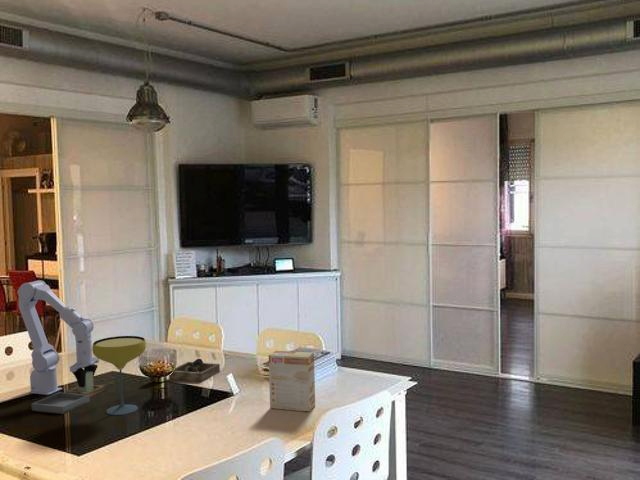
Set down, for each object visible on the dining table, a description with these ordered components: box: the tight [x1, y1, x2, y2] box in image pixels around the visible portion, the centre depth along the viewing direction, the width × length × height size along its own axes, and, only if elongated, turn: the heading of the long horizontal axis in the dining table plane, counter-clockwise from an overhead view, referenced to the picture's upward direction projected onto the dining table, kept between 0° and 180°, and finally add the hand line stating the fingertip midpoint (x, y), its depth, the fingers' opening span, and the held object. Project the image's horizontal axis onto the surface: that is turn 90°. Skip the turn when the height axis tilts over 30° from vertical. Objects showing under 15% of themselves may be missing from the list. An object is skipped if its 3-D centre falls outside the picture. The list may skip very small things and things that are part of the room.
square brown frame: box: [65, 384, 107, 398], centre depth 248 cm, size 10×10×2 cm
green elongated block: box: [77, 371, 94, 393], centre depth 248 cm, size 4×4×8 cm
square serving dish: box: [168, 361, 221, 383], centre depth 268 cm, size 15×15×4 cm
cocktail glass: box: [92, 335, 147, 416], centre depth 225 cm, size 18×18×25 cm
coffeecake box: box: [268, 350, 316, 413], centre depth 225 cm, size 15×7×20 cm, turn 71°
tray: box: [30, 391, 91, 415], centre depth 232 cm, size 14×14×2 cm
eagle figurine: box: [185, 358, 204, 373], centre depth 269 cm, size 8×7×9 cm
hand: (85, 385), depth 248 cm, fingers closed on green elongated block, 4 cm apart
